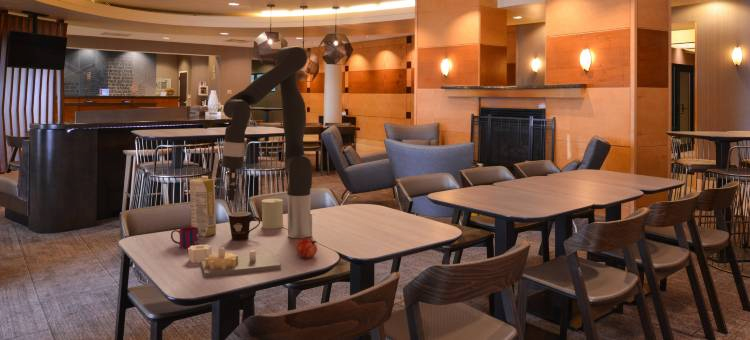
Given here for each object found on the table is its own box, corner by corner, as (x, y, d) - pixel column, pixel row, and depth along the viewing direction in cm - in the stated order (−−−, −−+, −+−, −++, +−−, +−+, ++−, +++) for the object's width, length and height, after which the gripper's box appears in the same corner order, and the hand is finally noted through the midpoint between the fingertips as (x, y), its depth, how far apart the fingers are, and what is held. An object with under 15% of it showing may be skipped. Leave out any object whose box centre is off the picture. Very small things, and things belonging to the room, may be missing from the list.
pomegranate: (293, 265, 193) (312, 252, 189) (285, 247, 196) (303, 233, 191) (307, 262, 200) (326, 249, 195) (299, 245, 202) (317, 231, 197)
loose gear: (210, 256, 197) (210, 243, 196) (212, 261, 191) (212, 248, 190) (188, 258, 194) (187, 246, 193) (189, 263, 188) (188, 250, 187)
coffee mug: (224, 240, 218) (223, 215, 217) (237, 235, 226) (237, 211, 225) (249, 243, 214) (248, 217, 213) (261, 237, 222) (261, 213, 220)
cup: (195, 249, 206) (194, 231, 205) (168, 248, 206) (167, 230, 205) (201, 244, 212) (200, 226, 211) (176, 243, 213) (175, 226, 212)
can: (273, 230, 235) (272, 202, 233) (257, 227, 240) (256, 199, 238) (287, 225, 242) (287, 198, 241) (272, 223, 247) (271, 196, 246)
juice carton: (219, 233, 228) (217, 176, 224) (204, 238, 221) (201, 178, 218) (203, 230, 233) (201, 174, 229) (188, 234, 226) (186, 176, 223)
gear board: (272, 257, 195) (272, 238, 194) (280, 269, 183) (280, 248, 182) (201, 264, 187) (200, 244, 186) (205, 277, 174) (204, 255, 173)
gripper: (245, 157, 196) (242, 202, 198) (242, 153, 209) (239, 195, 211) (223, 155, 194) (220, 201, 195) (222, 152, 207) (219, 194, 209)
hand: (230, 198), depth 203 cm, fingers open, 8 cm apart
